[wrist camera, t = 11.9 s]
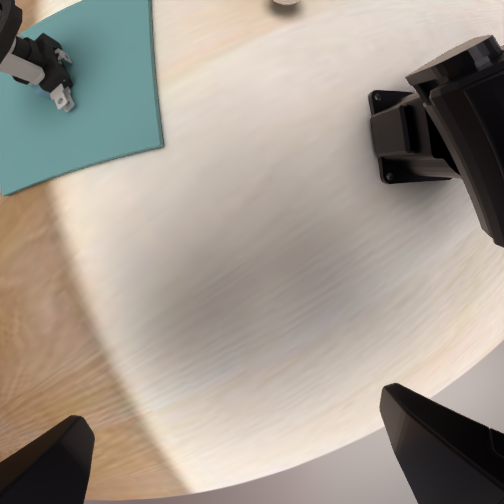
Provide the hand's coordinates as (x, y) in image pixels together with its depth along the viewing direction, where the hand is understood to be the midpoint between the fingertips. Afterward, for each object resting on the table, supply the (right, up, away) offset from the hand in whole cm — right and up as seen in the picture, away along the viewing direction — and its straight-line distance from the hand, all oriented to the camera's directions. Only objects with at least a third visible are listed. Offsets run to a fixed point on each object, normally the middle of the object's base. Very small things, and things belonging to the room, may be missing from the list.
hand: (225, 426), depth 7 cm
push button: (-13, +17, +8) cm, 23 cm away
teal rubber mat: (-13, +17, +9) cm, 23 cm away
